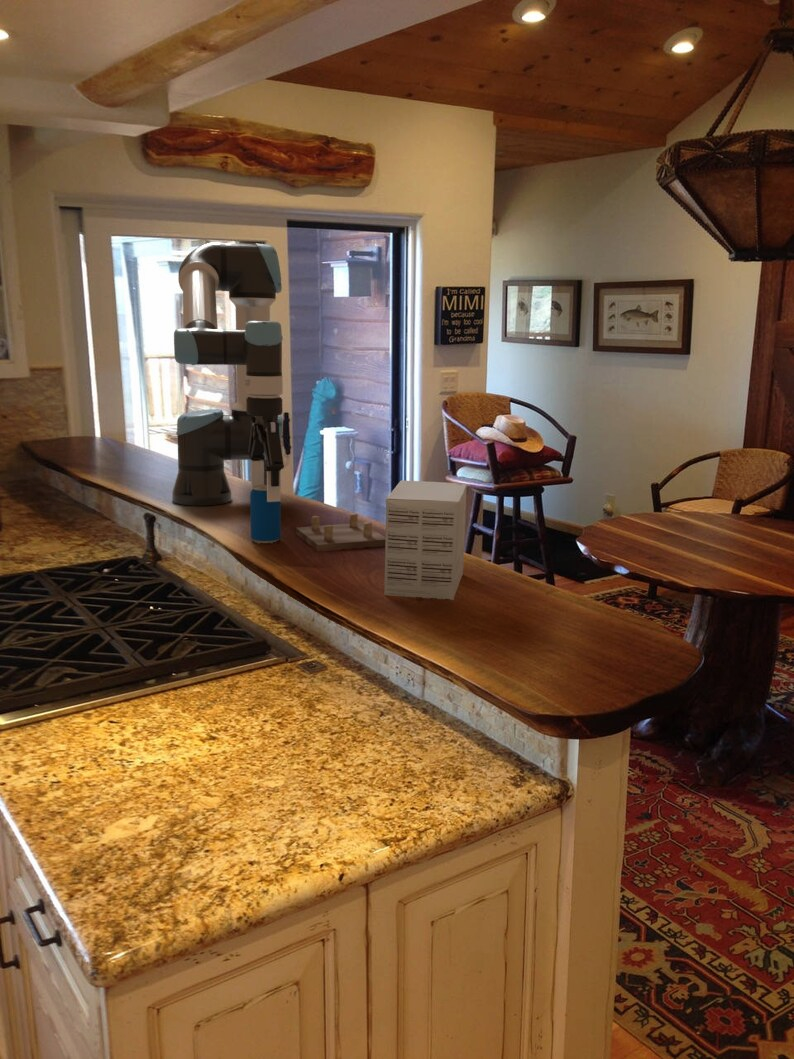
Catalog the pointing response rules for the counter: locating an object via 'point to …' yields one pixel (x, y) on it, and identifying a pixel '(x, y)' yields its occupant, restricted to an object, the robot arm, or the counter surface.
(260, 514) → the beverage can
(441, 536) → the supplement box
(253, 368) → the robot arm
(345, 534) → the peg stand
